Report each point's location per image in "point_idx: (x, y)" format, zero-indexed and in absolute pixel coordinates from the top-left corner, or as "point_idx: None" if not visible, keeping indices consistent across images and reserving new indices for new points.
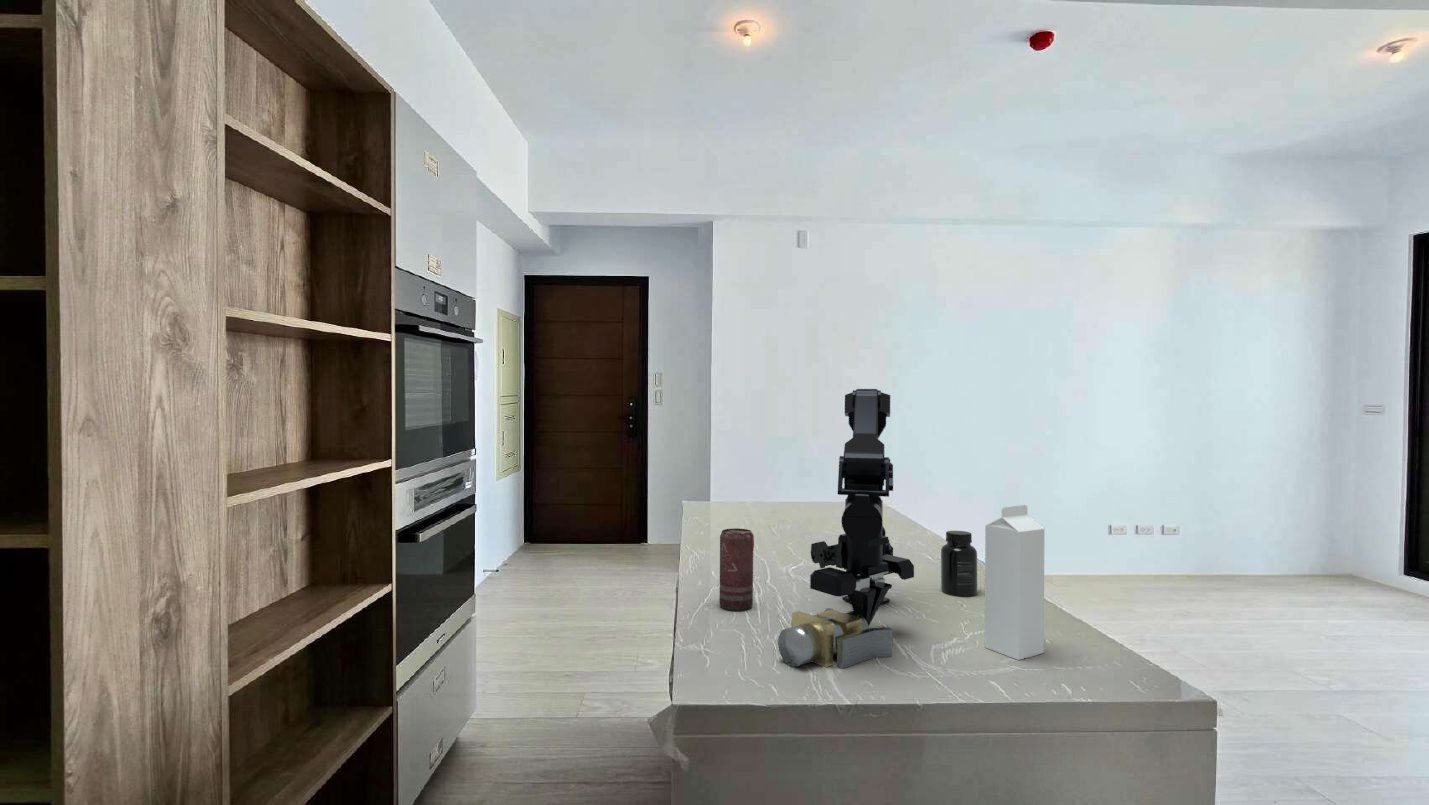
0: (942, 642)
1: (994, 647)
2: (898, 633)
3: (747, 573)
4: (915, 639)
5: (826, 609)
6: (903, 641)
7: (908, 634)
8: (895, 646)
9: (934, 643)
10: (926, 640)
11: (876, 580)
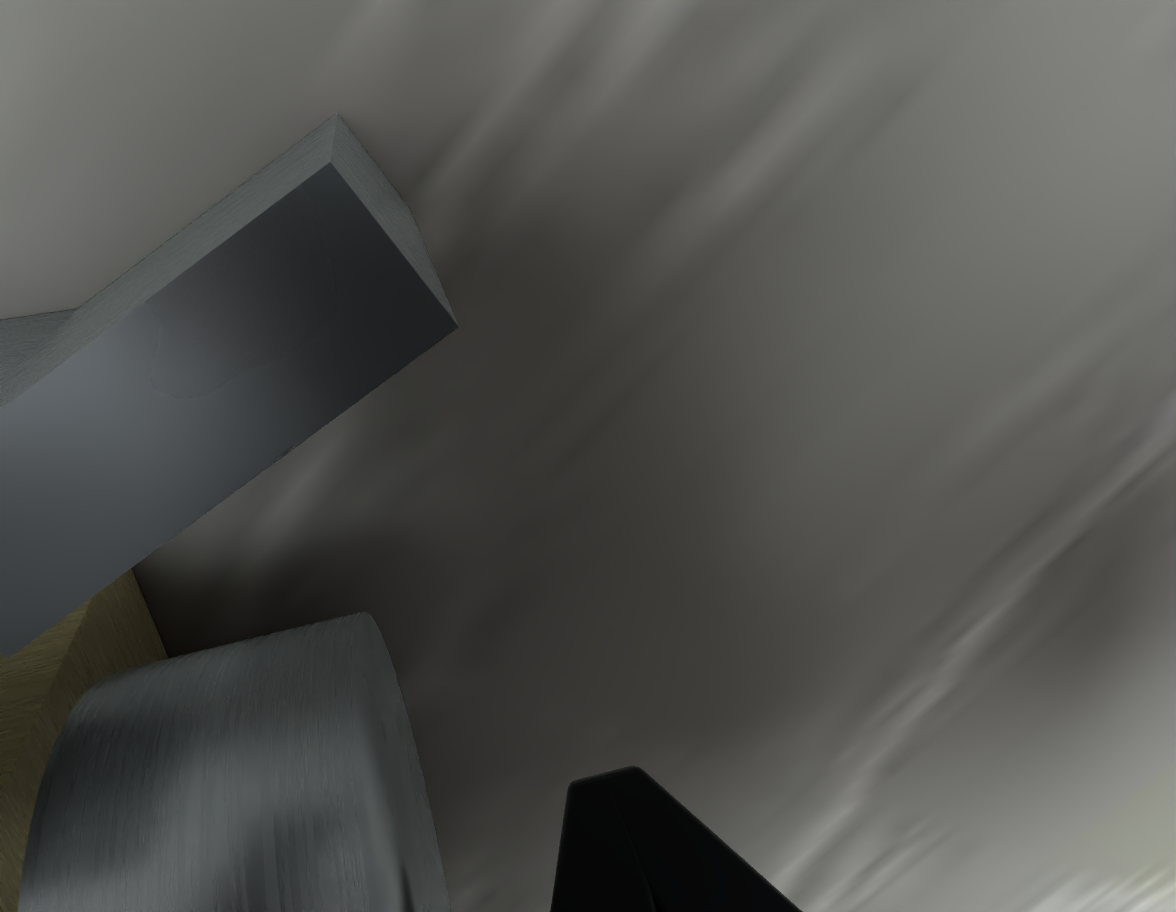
0: (1164, 872)
1: None
2: (1121, 577)
3: None
4: (1078, 761)
5: (211, 277)
6: (948, 769)
7: (1161, 636)
8: (770, 849)
9: (1099, 874)
10: (1121, 806)
11: None
